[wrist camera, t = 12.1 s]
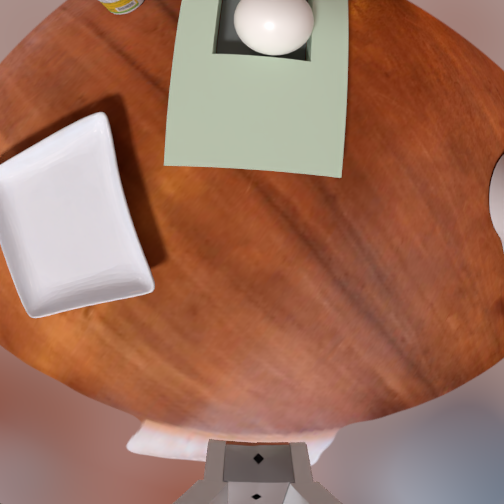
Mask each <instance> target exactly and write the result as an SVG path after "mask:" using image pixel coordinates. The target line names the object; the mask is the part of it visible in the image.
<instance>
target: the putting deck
mask: <svg viewBox="0 0 504 504" xmlns="http://www.w3.org/2000/svg"><path fill="white" fill-rule="evenodd" d="M240 1H241V0H223V2H222V0H182V3H181V9H180V15H179V21H178V27H177V34H176V41H175V48H174V56H173V64H172V72H171V81H170V91H169V101H168V113H167V125H166V139H165V156H164V166H199V167H221V168H239V169H254V170H268V171H280V172H291V173H302V174H311V175H321V176H330V177H338V178H341V174H342V163H343V151H344V138H345V123H346V106H347V82H348V0H308V4H309V5H310V7H311V10H312V12H313V17H314V26H313V30H312V33H311V36H310V37H309V39H308V40H307V48H306V43H305V44H304V45H303V46H301V47H300V48H299V49H297V50H295V51H293V52H291V53H288V54H284V55H266V54H262V53H259V52H256V51H254V50H252V49H251V48H249V47H248V46H247V45H246V44H244V43H243V42H242V40H241V39H240V38H239V36H238V34H237V32H236V30H235V26H234V13H235V10H236V7H237V5H238V3H239V2H240ZM306 1H307V0H306ZM221 4H222V10H221ZM220 12H221V18H220ZM219 20H220V26H219ZM218 28H219V35H218ZM217 37H218V44H217ZM216 46H217V53H216ZM305 54H306V61H305Z"/></svg>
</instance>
